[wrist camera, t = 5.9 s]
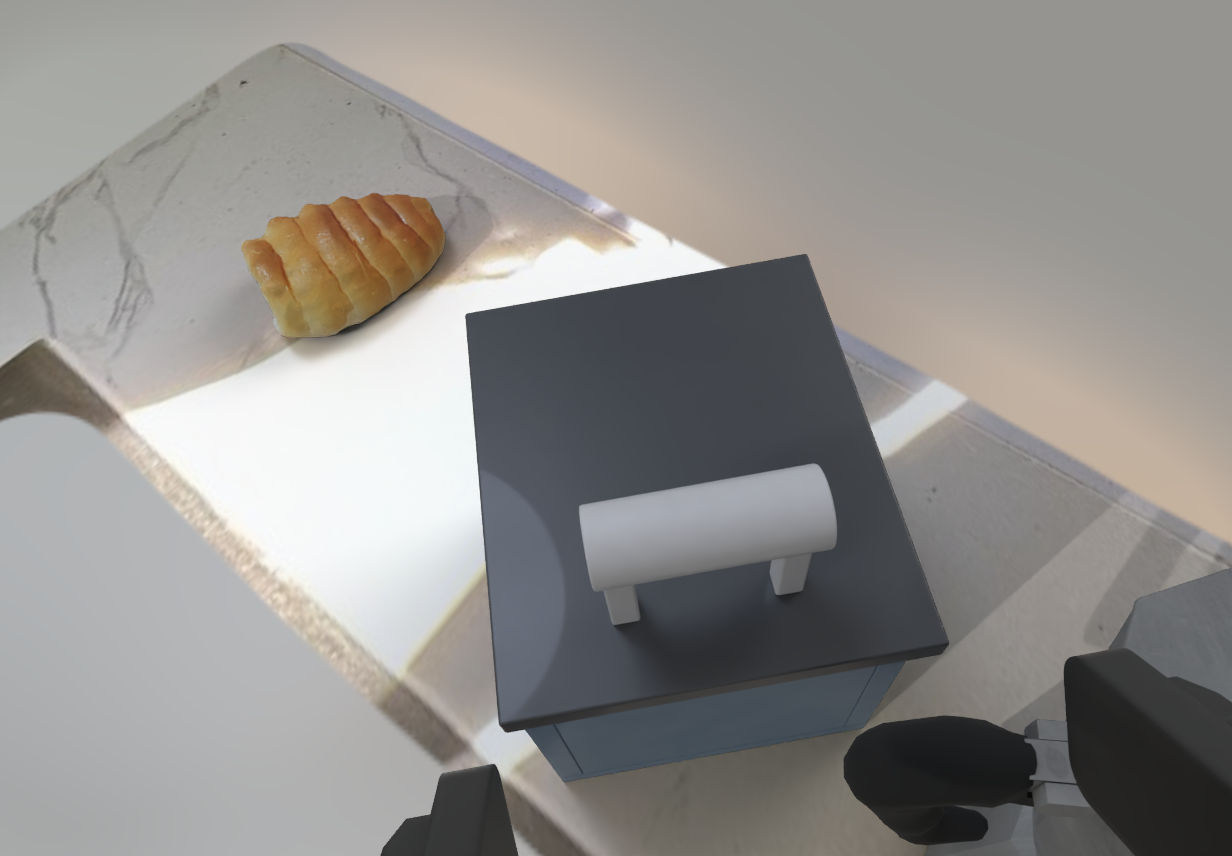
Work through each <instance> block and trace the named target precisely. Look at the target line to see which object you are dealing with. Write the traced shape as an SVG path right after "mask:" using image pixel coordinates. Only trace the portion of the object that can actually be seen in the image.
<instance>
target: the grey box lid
mask: <svg viewBox="0 0 1232 856" xmlns="http://www.w3.org/2000/svg"><path fill="white" fill-rule="evenodd" d="M465 317H466V329H467V341H468V354H469V366H470V378H471V390H472V402H473V415H474V427H475V439H476V451H477V463H478V475H479V488H480V500H481V512H482V524H483V536H484V549H485V561H486V573H487V585H488V597H489V609H490V622H491V634H492V646H493V658H494V670H495V683H496V695H497V707H498V719H499V725H500V726H501V727H502V729H503V730H504V731H505V732H507V733H508V732H514V731H519V730H525V729H530V728H536V727H541V726H547V725H552V724H558V723H564V722H569V721H575V720H580V719H586V718H591V717H597V716H602V715H608V714H613V713H619V712H624V711H630V710H635V709H641V708H647V707H652V706H658V705H663V704H669V703H674V702H680V701H685V700H691V699H696V698H702V697H707V696H713V695H719V694H724V693H730V692H735V691H741V690H746V689H752V688H757V687H763V686H768V685H774V684H779V683H785V682H790V681H796V680H802V679H807V678H813V677H818V676H824V675H829V674H835V673H840V672H846V671H851V670H857V669H862V668H868V667H873V666H879V665H885V664H890V663H896V662H901V661H907V660H912V659H918V658H923V657H929V656H934V655H940V654H942V653H943V652H944V650H945V649H946V648H947V646H948V645H949V641H948V638H947V635H946V632H945V630H944V627H943V624H942V622H941V619H940V616H939V613H938V611H937V608H936V605H935V602H934V600H933V597H932V594H931V591H930V589H929V586H928V583H927V581H926V578H925V575H924V572H923V570H922V567H921V564H920V561H919V559H918V556H917V553H916V550H915V548H914V545H913V542H912V540H911V537H910V534H909V531H908V529H907V526H906V523H905V520H904V518H903V515H902V512H901V509H900V507H899V504H898V501H897V499H896V496H895V493H894V490H893V488H892V485H891V482H890V479H889V477H888V474H887V471H886V468H885V466H884V463H883V460H882V458H881V455H880V452H879V449H878V447H877V444H876V441H875V438H874V436H873V433H872V430H871V428H870V425H869V422H868V419H867V417H866V414H865V411H864V408H863V406H862V403H861V400H860V397H859V395H858V392H857V389H856V387H855V384H854V381H853V378H852V376H851V373H850V370H849V367H848V365H847V362H846V359H845V356H844V354H843V351H842V348H841V346H840V343H839V340H838V337H837V335H836V332H835V329H834V326H833V324H832V321H831V318H830V315H829V313H828V310H827V308H826V305H825V302H824V299H823V297H822V294H821V291H820V288H819V285H818V283H817V280H816V277H815V275H814V272H813V269H812V267H811V264H810V261H809V258H808V256H807V254H802V255H797V256H791V257H785V258H780V259H774V260H769V261H763V262H757V263H751V264H746V265H740V266H735V267H729V268H723V269H717V270H712V271H706V272H700V273H695V274H689V275H683V276H678V277H672V278H666V279H661V280H655V281H649V282H644V283H638V284H632V285H627V286H621V287H615V288H610V289H604V290H598V291H593V292H587V293H581V294H576V295H570V296H564V297H559V298H553V299H547V300H542V301H536V302H530V303H525V304H519V305H513V306H508V307H502V308H496V309H491V310H485V311H479V312H474V313H468V314H466V316H465Z"/></svg>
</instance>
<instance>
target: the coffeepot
mask: <svg viewBox="0 0 1232 856" xmlns="http://www.w3.org/2000/svg"><path fill="white" fill-rule="evenodd" d="M1117 648H1127V649H1130V650H1131V651H1133V652H1134V653H1135V654H1137V655H1138V656H1139V657H1141V658H1142V659H1143V660H1145V661H1146V662H1147V663H1149V664H1150V665H1151V666H1153V667H1154V668H1155V669H1157V670H1158V671H1159V672H1161V673H1162V674H1163V675H1165V676H1166V677H1167V678H1170V677H1175V676H1177V677H1180V678H1182V679H1185V680H1187V681H1190V682H1192V683H1195V684H1197V685H1200V686H1202V687H1205V688H1207V689H1210V690H1212V691H1215V692H1217V693H1219V694H1221V695H1222V696H1224V697H1225V698H1226V699H1228V700H1229V701H1231V702H1232V568H1229V569H1226V570H1223V571H1220V572H1217V573H1214V574H1211V575H1208V576H1205V577H1202V578H1199V579H1196V580H1192V581H1189V582H1186V583H1183V584H1180V585H1177V586H1174V587H1171V588H1168V589H1165V590H1162V591H1159V592H1156V593H1153V594H1150V595H1147V596H1144V597H1141V598H1138V599H1137V600H1136V601H1135V604H1134V607H1133V610H1132V612H1131V614H1130V615H1129V617H1128V619H1127V620H1126V622H1125V623H1124V625H1123V627H1122V628H1121V630H1120V632H1119V633H1118V635H1117V636H1116V638H1115V640H1114V641H1113V643H1112V645H1111V646H1110V648H1109V649H1108V650H1112V649H1117ZM1024 732H1025V734H1024V735H1020V734H1016V733H1012V732H1010V731H1007V730H1005V729H1003V728H1001V727H999V726H997V725H994V724H992V723H990V722H988V721H986V720H979V719H972V718H966V717H956V716H937V717H929V718H921V719H913V720H905V721H897V722H889V723H883V724H880V725H878V726H875V727H873V728H871V729H868V730H867V731H865V732H864V733H862V734H860V735H859V736H857V737H856V739H855V740H854V742H853V743H852V745H851V747H850V749H849V750H848V752H847V754H846V755H845V757H844V778H845V780H846V782H847V783H848V785H849V787H850V789H851V791H852V792H853V794H854V796H855V797H856V798H857V799H858V800H859V801H860V802H862V803H863V804H864V805H866V806H867V807H868V808H869V809H871V810H872V811H873V812H874V813H875V814H876V815H877V816H878V817H879V819H880V820H882V822H883V823H884V824H885V825H887V826H888V827H889V828H890V829H892V830H893V831H895V832H896V833H897V834H898V835H899V837H900V838H903V839H905V840H907V841H909V842H911V843H914V844H921V845H929V846H928V849H927V852H926V855H925V856H1135V855H1134V854H1133V853H1132V852H1131V851H1130V850H1129V849H1128V847H1127V846H1126V845H1125V844H1124V843H1123V842H1122V841H1121V840H1120V839H1119V837H1118V836H1117V835H1116V834H1115V833H1114V832H1113V831H1112V830H1111V829H1110V827H1109V826H1108V825H1107V824H1106V823H1105V822H1104V821H1103V820H1102V818H1101V817H1100V816H1099V815H1098V814H1097V813H1096V812H1095V811H1094V810H1093V808H1092V807H1091V806H1090V805H1089V804H1088V802H1087V801H1086V800H1085V798H1084V797H1083V795H1082V793H1081V791H1080V789H1079V787H1078V785H1077V783H1076V780H1075V778H1074V775H1073V772H1072V769H1071V765H1070V760H1069V750H1068V734H1067V718H1066V721H1065V722H1064V721H1052V720H1040V719H1036V720H1035V721H1034V722H1032V723H1031V724H1030V725H1028V726H1027V727H1026V728H1025V730H1024Z"/></svg>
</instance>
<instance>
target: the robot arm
mask: <svg viewBox="0 0 1232 856" xmlns="http://www.w3.org/2000/svg"><path fill="white" fill-rule="evenodd" d="M1064 686H1065V702H1066V718H1067V734H1068V750H1069V760H1070V765H1071V769H1072V772H1073V775H1074V778H1075V780H1076V783H1077V785H1078V787H1079V789H1080V791H1081V793H1082V795H1083V797H1084V798H1085V800H1086V801H1087V802H1088V804H1089V805H1090V806H1091V807H1092V808H1093V810H1094V811H1095V812H1096V813H1097V814H1098V815H1099V816H1100V817H1101V818H1102V820H1103V821H1104V822H1105V823H1106V824H1107V825H1108V826H1109V827H1110V829H1111V830H1112V831H1113V832H1114V833H1115V834H1116V835H1117V836H1118V837H1119V839H1120V840H1121V841H1122V842H1123V843H1124V844H1125V845H1126V846H1127V847H1128V849H1129V850H1130V851H1131V852H1132V853H1133V854H1134V855H1135V856H1232V702H1231V701H1229V700H1228V699H1226V698H1225V697H1224V696H1222V695H1221V694H1219V693H1217V692H1215V691H1212V690H1210V689H1207V688H1205V687H1202V686H1200V685H1197V684H1195V683H1192V682H1190V681H1187V680H1185V679H1182V678H1180V677H1177V676H1175V677H1170V678H1167V677H1166V676H1165V675H1163V674H1162V673H1161V672H1159V671H1158V670H1157V669H1155V668H1154V667H1153V666H1151V665H1150V664H1149V663H1147V662H1146V661H1145V660H1143V659H1142V658H1141V657H1139V656H1138V655H1137V654H1135V653H1134V652H1133V651H1131V650H1130V649H1127V648H1117V649H1112V650H1106V651H1101V652H1096V653H1090V654H1085V655H1079V656H1074V657H1070V658H1068V659H1067V661H1066V663H1065V666H1064ZM381 856H518V852H517V848H516V843H515V839H514V835H513V830H512V826H511V822H510V817H509V813H508V808H507V804H506V800H505V795H504V791H503V787H502V782H501V778H500V775H499V771H498V769H497V767H496V765H495V764H491V765H485V766H480V767H474V768H469V769H464V770H458V771H453V772H447V773H442V774H441V776H440V778H439V782H438V786H437V790H436V794H435V798H434V802H433V806H432V810H431V814H430V815H425V816H420V817H414V818H409V819H406V820H405V821H404V822H403V824H402V825H401V826H400V827H399V829H398V830H397V831H396V833H395V834H394V835H393V836H392V837H391V839H390V840H389V841H388V842H387V844H386V845H385V846H384V847H383V850H382V853H381Z"/></svg>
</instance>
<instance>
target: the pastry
mask: <svg viewBox="0 0 1232 856" xmlns="http://www.w3.org/2000/svg"><path fill="white" fill-rule="evenodd" d="M445 240H446V235H445V232H444V230H443V228H442V225H441V223H440V221H439V219H438V218H437V217H436V215H435V213H434V211H433V209H432V206H431V205H430V203H429V202H428V201H427V199H425V198H419V197H411V196H408V195H400V194H395V195H385V196H383V195H380V194H378V193H372V194H370V195H368V196H365V197H363V198H361V199H358V200H355V199H351V198H348V197H344V196H343V197H340V198H339V199H337V200H336V201H335V202H333V203H332V204H330V205H325V204H321V205H313V204H306V205H305V206H304V207H303V208H302V209H301V211H300V213H299V215H298V217H291V218H289V217H276V218H273V219H271V220H270V221H269V223H268V226H267V229H266V231H265V233H264V235H263V237H261V238H258V239H254V240H247V241H245V242H244V243H243V244H242V246H241V250H242V252H243V256H244V259H245V262H246V264H247V268H248V270H249V272H250V273H251V275H252V276H253V278H254V279H255V280H256V281H257V283H258V284H259V285H260V289H261V292H262V293H263V296H264V298H265V299H266V301H267V302H268V303H269V306H270V308H271V310H272V312H273V315H274V320H273V324H274V326H275V327H276V329H277V331H278V333H279V334H281V335H283V336H286V337H326V336H331V335H336V334H337V333H338V332H339V331H340V330H342V329H344V328H346V327H348V326H351V325H353V324H360V323H362V322H363V321H365V320H366V319H368V318H369V317H371V316H372V315H374V314H376V313H378V312H379V311H380V310H381V309H382V308H383V307H384V306H386V305H388V304H389V303H391V302H393V301H396V299H397V298H398V297H399V296H400V295H401V294H402V293H404V292H405V291H406V292H408V290H409V289H410V288H411V287H412V286H414V285H415V284H416V283H418V282H419V281H420V280H421V279H422V278H423V277H424V276H425V275H426V274H427V273H428V272H429V271H430V270H431V268H432V267H433V265H434V263H435V262H436V260H437V259H438V258H439V256H440V255H441V254H442V252H443V250H444V246H445Z"/></svg>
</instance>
